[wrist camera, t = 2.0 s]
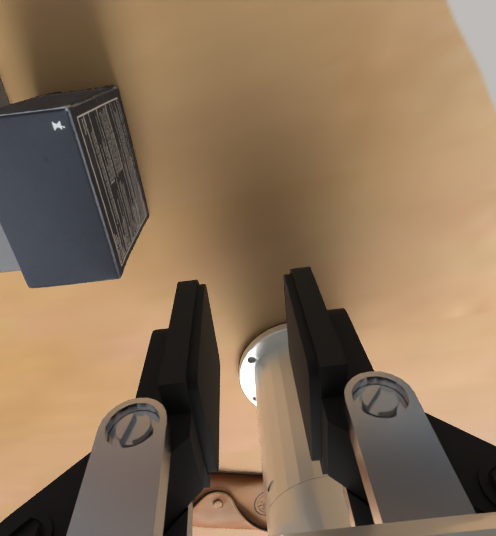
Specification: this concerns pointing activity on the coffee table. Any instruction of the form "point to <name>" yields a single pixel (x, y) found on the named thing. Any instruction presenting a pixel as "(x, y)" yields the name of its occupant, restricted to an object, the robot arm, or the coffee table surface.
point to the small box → (69, 187)
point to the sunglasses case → (231, 503)
